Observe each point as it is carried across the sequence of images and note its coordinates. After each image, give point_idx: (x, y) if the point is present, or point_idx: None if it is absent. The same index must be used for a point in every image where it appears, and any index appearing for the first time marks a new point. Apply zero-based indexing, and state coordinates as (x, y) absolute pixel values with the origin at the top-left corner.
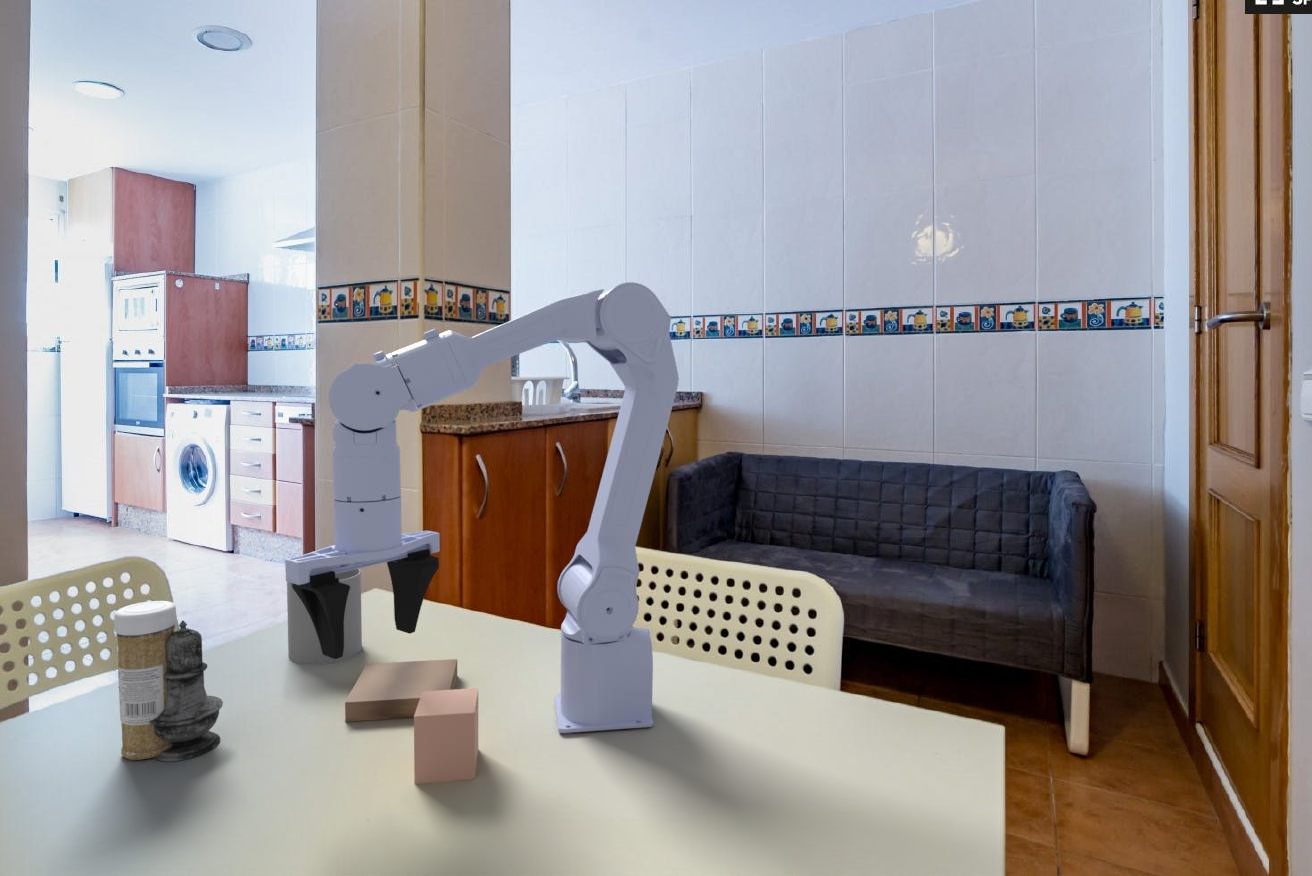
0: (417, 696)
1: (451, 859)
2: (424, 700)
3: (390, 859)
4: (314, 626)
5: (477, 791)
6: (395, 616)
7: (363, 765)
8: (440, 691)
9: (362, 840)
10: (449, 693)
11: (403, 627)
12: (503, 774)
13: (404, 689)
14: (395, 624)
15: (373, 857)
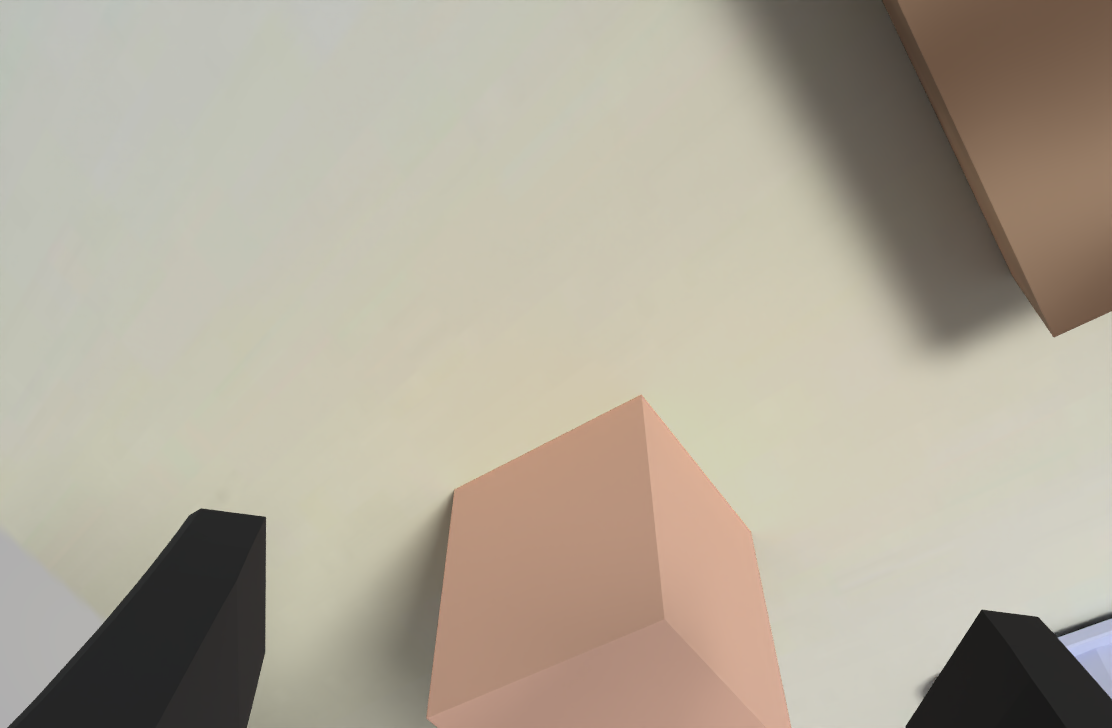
0: (1014, 199)
1: (251, 724)
2: (580, 673)
3: None
4: (16, 720)
5: None
6: (1039, 712)
7: (452, 257)
8: (700, 674)
9: (148, 543)
10: (696, 710)
11: (954, 708)
12: None
13: (1107, 53)
14: (1002, 642)
15: None
